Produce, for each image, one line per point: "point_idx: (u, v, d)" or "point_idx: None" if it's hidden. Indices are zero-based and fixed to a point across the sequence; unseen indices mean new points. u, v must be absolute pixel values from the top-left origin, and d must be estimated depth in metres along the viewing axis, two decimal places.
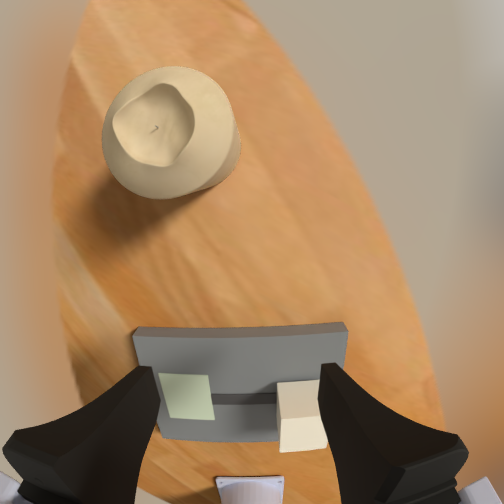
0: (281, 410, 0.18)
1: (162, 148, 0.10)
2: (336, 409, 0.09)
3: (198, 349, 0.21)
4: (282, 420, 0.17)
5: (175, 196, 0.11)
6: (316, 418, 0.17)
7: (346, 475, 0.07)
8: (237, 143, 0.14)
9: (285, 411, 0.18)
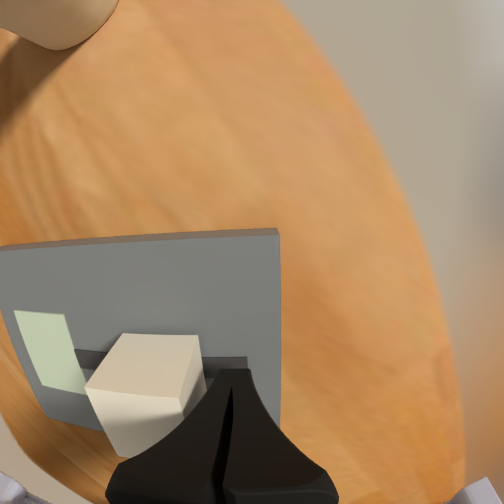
0: (95, 373, 0.09)
1: None
2: None
3: (46, 268, 0.12)
4: (87, 390, 0.08)
5: None
6: (147, 401, 0.08)
7: None
8: None
9: (99, 376, 0.09)
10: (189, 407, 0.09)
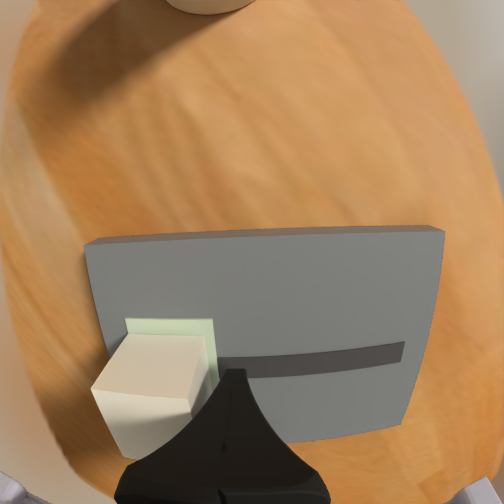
0: (102, 374, 0.09)
1: None
2: None
3: (196, 264, 0.12)
4: (94, 392, 0.08)
5: None
6: (155, 403, 0.08)
7: None
8: None
9: (106, 377, 0.09)
10: (197, 408, 0.09)
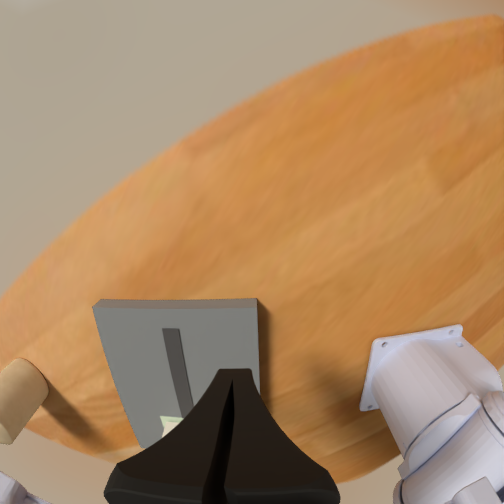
0: None
1: None
2: None
3: (136, 416, 0.22)
4: None
5: (5, 428, 0.15)
6: None
7: None
8: None
9: None
10: None
